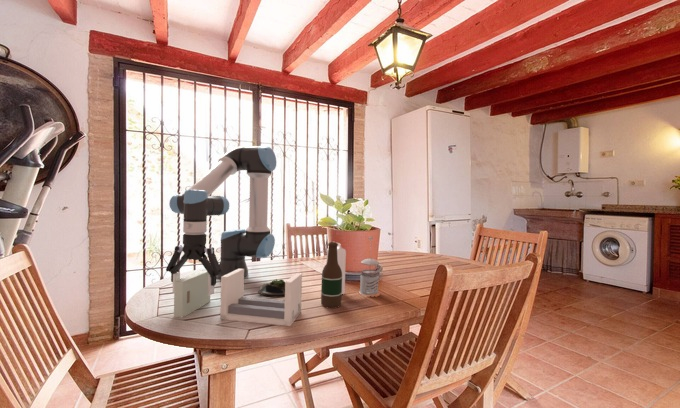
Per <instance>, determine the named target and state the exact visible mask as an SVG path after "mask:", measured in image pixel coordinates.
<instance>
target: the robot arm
mask: <svg viewBox="0 0 680 408" xmlns="http://www.w3.org/2000/svg"><path fill="white" fill-rule="evenodd" d="M217 161H218V163H217V164H215V165H214V166H213V167H211V169H210V170H208V172H206V173H205V174H204V175H203V176H201V178H199V180H198V181H196V182H195V183H194V184H193V185H192V186H191V187H189V188H188V189H186V190H185V191H184V193H183V194H181V193H179V194H175V195H173V196H171V197H170V199H169V208H170V210H171V211H172V212H173V213H175V214H180V215H181V214H182V215H183V222H182V223H183V227H182V232H183V233H184V234H183V235H182V244H183V245H181V244H180V245H176V246H175V247H174V251H173V254H172V256H171V258H170V260H169V262H168V264H167V266H166V268H165V271H166V272H169V273H170V274H171V276H170V277H171V278H170V281H171V283H172V293H174V282H175V281H176V280H179V279H181V272H179V271H180V270H181V268H182V267H183V266H184V265H185V263H186V262H187V261H188V260H194V261H198V262H199V263H201V265H202V266H203V267H204V270H207V272H208V273H209V274H210V276H209V277H208V296H210V297H211V295H214V294H215V286H216V285H217V279H220V280H221V277H222V276H224V275H226V274H228V273H230V272H233V271H235V270H237V269H244V278H247V277H248V276H249V269H248V266H247V262H246V257H250V258H251V257H252V258H258V259H263V258H268V257H270V256H271V254H272V253H273V251H274V247H275V245H276V244H275V243H276V239H275V235H274V234H272V233H271V229H270V228H269V227H268V205H269V203H268V202H269V196H268V195H269V178H270V177H271V176H272V172H273V171H275V170H276V168H277V157H276V154H275V152H274V150H273V148H271V147H270V146H265V145H253V146H252V145H250V146H249V145H248V146H247V145H246V146H245V145H244V146H238V147H235V148H233V149H231V150H229V151H228V152H226V153H225V154H223V155H222V156H221V157H219V159H218V160H217ZM240 171H246V174H247V176H248V177H249V203H248V206H249V207H248V209H249V211H248V212H249V213H248V214H249V215H248V216H249V217H248V218H249V219H248V227H247V228H246V229H245V228H244V229H243V228H242V229H241V228H240V229H231V230H226V231H223V232H221V236H220V262H219V261H218V258H217V256H216V254H215V247H208V248H207V246H206V244H207V231H208V229H207V228H208V227H207V225H208V224H207V223H208V221H207V219H208V216H219V217H220V216H222V215H225V214H226V213H228V212H229V209H230V201H229V200H228V198H227V197H225V196H222V195H211V194H213V193H214V192H215V191H216V190H217V189H218V188H219V187H220V186H221V185H222V184H223V183H224V182H225V181H226V180H227V179H228V178H229V177H230V176H231V175H235V174H236V173H238V172H240ZM182 253H183V255H182V256H181V254H182ZM179 258H180V259H179Z"/></svg>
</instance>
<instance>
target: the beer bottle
mask: <svg viewBox="0 0 680 408" xmlns="http://www.w3.org/2000/svg"><path fill="white" fill-rule="evenodd" d="M337 243H338V242H337ZM337 243H336V241H330V242H328V244H327V246H328V248H329V249H328V248H327V249H328V260H327V259H326V260H327V264H325V265H324V267H323V269H322V272H321V290H320V291H321V293H320V302H321V306H322V307H324V308H326V307H328V308H327V309H336V308H335V307H337V308H338V306H339V307H340V306H341V305H342V271H341V268H340V266H339V265H338V260H337V246H338V244H337Z"/></svg>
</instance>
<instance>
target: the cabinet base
mask: <svg viewBox="0 0 680 408" xmlns="http://www.w3.org/2000/svg"><path fill="white" fill-rule="evenodd" d="M284 282H285V296H284V300H280V299H279V300H277V299H266V298H257V297H256V298H255V297H245V296H244V295H245V294H244V290H245V289H244V288H245V285H244V284H245V277H244V269H237V270H235V271H233V272H230V273H228V274H226V275H224V276H222V277H221V279H220V313H219V314H220V318H219V319H220V320H226V321H228V320H229V321H236V322H245V323H246V322H249V323H255V324H256V323H258V324H267V325H277V326H286V327H291V325H292V324H293V323H294V322H295V321H296V319H297V318H298V317H299V315H300V314H301V312H302V288H303V273H301V272H295V273H294V274H293V275H292V276H291V277H289V278H288V279H287V280H285V281H284Z"/></svg>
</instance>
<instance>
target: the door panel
mask: <svg viewBox="0 0 680 408" xmlns="http://www.w3.org/2000/svg"><path fill="white" fill-rule="evenodd" d="M209 276H210V274H209V273H208V272H207V270H206V269H202V270H200V271H197V272H194V273H192V274H190V275H186V276H184V277H182V278H181V277H180V279H179V280H176V281H175V282H174V292H173V297H174V298H173V317H174V318H181V319H182V318H184V317H186V316H187V315H189V314H191V313H192V312H194V311H196V310H198V309H199V308H202V307H203V306H205V305H207V304H208V303H210V302H211V295H210V296H208V277H209Z"/></svg>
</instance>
